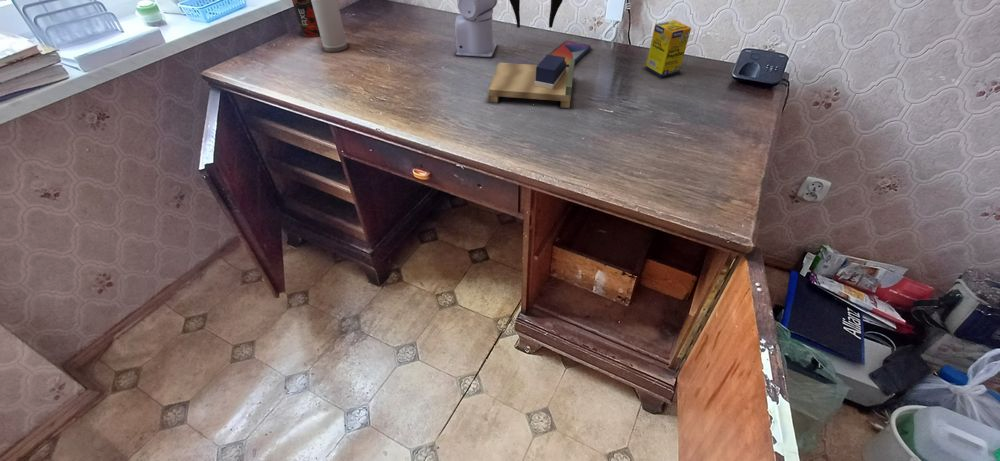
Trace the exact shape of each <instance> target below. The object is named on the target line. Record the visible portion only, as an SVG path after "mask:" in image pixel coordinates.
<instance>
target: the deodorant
mask: <svg viewBox="0 0 1000 461" xmlns="http://www.w3.org/2000/svg"><path fill="white" fill-rule="evenodd" d="M291 2H292V6H293V9H294V12H295V16H296V19H297V22H298V23H297V24H298V25H299V29H300V32H301V35H302V36H303V37H306V38H314V37H319V36H321V35H320V32H319V28H318V24H317V20H316V17H315V13H314V9H313V5H312V2H311V0H291Z"/></svg>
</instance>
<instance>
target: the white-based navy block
mask: <svg viewBox="0 0 1000 461" xmlns="http://www.w3.org/2000/svg"><path fill="white" fill-rule="evenodd" d="M549 54H550V53H549ZM549 54H546V55H545V56H544V58H542V60H540V62H539V63H538V64H537V65H538V66H537V67H536V81H535V82H534V86H538V87H543V88H549V89H554V87H555V86H556V85H557V83H558V82H559V81H560V79H561V78H562V77H563V75H564V74H565V73H566V62H565V57H560V56H554V55H549Z"/></svg>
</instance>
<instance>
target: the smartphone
mask: <svg viewBox="0 0 1000 461" xmlns="http://www.w3.org/2000/svg"><path fill="white" fill-rule="evenodd" d="M590 50H591V45H590V44H587V43H581V42H577V41H572V40H565V41H563V42H562V43H561V44H560V45H558V46H557V47H556V48H555V49H554V50H552V51H551V52H550V53H549V55H554V56H560V57H565V62H566V67H569V62H570V59H575V64H576V63H577V62H579V60H580V59H582V57H584V56H585V55H586V54H587V53H588V52H589V51H590Z"/></svg>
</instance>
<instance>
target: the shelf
mask: <svg viewBox="0 0 1000 461" xmlns="http://www.w3.org/2000/svg"><path fill="white" fill-rule="evenodd" d="M575 64H576V63H575V59H570V62H569V67H566V73H565V74H564V75H563V77H562V78H561V79H560V81H559V82H558V83H557V85H556V86H555V87H554V89H549V88H543V87H538V86H534V82H535V81H536V67H537V66H538V64H527V63H512V62H511V63H510V62H498V64H497V67H496V69H495V72H494V74H493V76H492V80H491V82H490V84H489V87H488V102H489V103H498V102H499V100H500V97H501V98H502V97H503V98H515V99H529V100H541V101H542V100H543V101H544V100H545V101H554V102H560V108H564V109H570V108H571V98H572V91H573V90H572V89H573V83H574V72H575Z"/></svg>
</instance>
